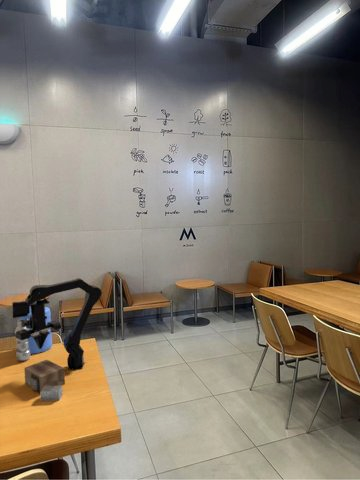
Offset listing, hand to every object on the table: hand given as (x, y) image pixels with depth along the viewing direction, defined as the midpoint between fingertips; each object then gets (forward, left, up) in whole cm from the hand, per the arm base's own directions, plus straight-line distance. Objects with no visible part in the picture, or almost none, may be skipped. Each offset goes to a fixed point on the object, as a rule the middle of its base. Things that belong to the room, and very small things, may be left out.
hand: (40, 348), depth 148 cm
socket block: (-4, +9, -12) cm, 16 cm away
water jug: (+12, -32, -12) cm, 36 cm away
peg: (-4, +12, -11) cm, 17 cm away
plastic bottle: (+14, -18, -12) cm, 26 cm away
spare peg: (-10, +21, -12) cm, 26 cm away
